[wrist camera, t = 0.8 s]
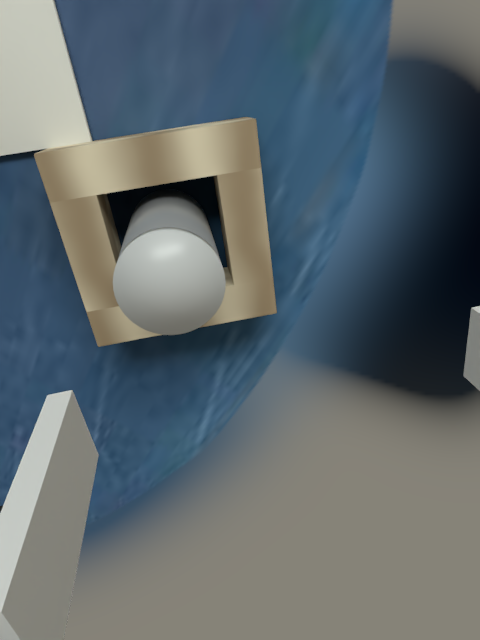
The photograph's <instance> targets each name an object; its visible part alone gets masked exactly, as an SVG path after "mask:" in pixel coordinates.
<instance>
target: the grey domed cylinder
mask: <svg viewBox="0 0 480 640" xmlns="http://www.w3.org/2000/svg"><path fill="white" fill-rule="evenodd" d="M225 286H226V281H225V274H224V270H223V266H222V263H221V260H220V257H219V254H218V251H217V248H216V245H215V242H214V239H213V236H212V233H211V230H210V226H209V223H208V220H207V217H206V215H205V212H204V210H203V208H202V207H201V205H200V204H199V203H198V202H197V201H196V200H195V199H194V198H193V197H192V196H190V195H188V194H187V193H184V192H182V191H179V190H174V189H161V190H157V191H154V192H152V193H150V194H148V195H146V196H145V197H144V198H143V199H142V200H141V201H140V202H139V203H138V204H137V205H136V207H135V209H134V211H133V214H132V216H131V220H130V223H129V226H128V229H127V232H126V235H125V238H124V241H123V245H122V248H121V251H120V254H119V257H118V260H117V263H116V266H115V270H114V274H113V290H114V295H115V298H116V301H117V303H118V305H119V307H120V309H121V310H122V312H123V313H124V314H125V315H126V316H127V317H128V319H129V320H131V321H132V322H133V323H134V324H136V325H137V326H139V327H141V328H143V329H145V330H147V331H150V332H153V333H157V334H163V335H177V334H183V333H187V332H190V331H193V330H195V329H197V328H199V327H201V326H202V325H204V324H205V323H206V322H208V321H209V320H210V319H211V318H212V317H213V316H214V315H215V313H216V312H217V310H218V309H219V307H220V305H221V303H222V301H223V298H224V294H225Z"/></svg>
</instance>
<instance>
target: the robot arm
mask: <svg viewBox="0 0 480 640" xmlns="http://www.w3.org/2000/svg"><path fill="white" fill-rule="evenodd" d="M464 377H465V378H466V379H467V380H469V381H470V382H471V383H472V384H473V385H474V386H475V387H476V388H477V389H478V390H479V391H480V306H478V307H473V308H471V316H470V325H469V333H468V342H467V350H466V359H465V367H464ZM97 460H98V453H97V450H96V448H95V445H94V443H93V440H92V438H91V435H90V433H89V430H88V428H87V425H86V423H85V420H84V418H83V415H82V413H81V410H80V408H79V405H78V403H77V400H76V398H75V395H74V393H73V390H70V391H65V392H61V393H56V394H51V395H47V398H46V400H45V403H44V405H43V408H42V410H41V413H40V415H39V418H38V420H37V423H36V425H35V428H34V430H33V433H32V435H31V438H30V440H29V443H28V445H27V448H26V450H25V453H24V455H23V458H22V460H21V463H20V465H19V468H18V470H17V473H16V475H15V478H14V480H13V483H12V485H11V488H10V490H9V493H8V495H7V498H6V500H5V503H4V505H3V506H0V640H64V635H65V630H66V625H67V619H68V614H69V609H70V604H71V598H72V593H73V588H74V582H75V576H76V572H77V566H78V561H79V556H80V550H81V545H82V540H83V535H84V529H85V524H86V519H87V513H88V508H89V503H90V497H91V492H92V487H93V481H94V476H95V471H96V466H97Z"/></svg>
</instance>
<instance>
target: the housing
mask: <svg viewBox="0 0 480 640" xmlns="http://www.w3.org/2000/svg"><path fill="white" fill-rule="evenodd" d="M34 157H35V160H36V163H37V166H38V169H39V172H40V175H41V178H42V181H43V184H44V187H45V190H46V193H47V196H48V199H49V201H50V204H51V207H52V210H53V213H54V216H55V219H56V222H57V225H58V228H59V231H60V234H61V237H62V240H63V243H64V246H65V249H66V252H67V255H68V258H69V261H70V264H71V267H72V270H73V273H74V276H75V279H76V282H77V285H78V288H79V291H80V294H81V297H82V300H83V303H84V306H85V309H86V312H87V315H88V318H89V321H90V324H91V327H92V330H93V333H94V336H95V339H96V342H97V345H98V347H100V346H105V345H110V344H116V343H121V342H126V341H132V340H137V339H142V338H148V337H153V336H158V335H163V334H157V333H153V332H150V331H147V330H145V329H143V328H141V327H139V326H137V325H136V324H134V323H133V322H132V321H131V320H129V319H128V317H127V316H126V315H125V314H124V313H123V312H122V310H121V309H120V307H119V305H118V303H117V301H116V298H115V295H114V290H113V274H114V270H115V266H116V263H117V260H118V257H119V254H120V251H121V244H120V240H119V237H118V233H117V229H116V226H115V222H114V218H113V215H112V211H111V207H110V203H109V200H108V196H107V193H112V192H118V191H124V190H130V189H136V188H142V187H148V186H154V185H160V184H167V183H173V182H179V181H185V180H191V179H197V178H203V177H209V176H213V178H214V184H215V190H216V197H217V203H218V209H219V216H220V222H221V229H222V235H223V241H224V248H225V254H226V260H227V267H225V268H223V270H224V274H225V281H226V286H225V294H224V298H223V301H222V303H221V305H220V307H219V309H218V310H217V312H216V313H215V315H214V316H213V317H212V318H211V319H210V320H209V321H208V322H206V323H205V324H204V325H202V326H201V327H206V326H211V325H216V324H222V323H227V322H232V321H238V320H243V319H248V318H253V317H259V316H264V315H269V314H275V313H277V311H276V301H275V292H274V283H273V273H272V264H271V255H270V245H269V236H268V227H267V217H266V208H265V199H264V189H263V180H262V171H261V161H260V152H259V143H258V133H257V124H256V119H254V118H249V117H242V118H236V119H230V120H223V121H217V122H211V123H204V124H198V125H191V126H185V127H179V128H172V129H166V130H160V131H153V132H147V133H140V134H134V135H128V136H121V137H115V138H109V139H102V140H96V141H92V142H85V143H79V144H73V145H66V146H60V147H53V148H48V149H45V150H43V151H40V152H37V153H35V154H34ZM199 328H200V327H199Z"/></svg>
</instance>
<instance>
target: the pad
mask: <svg viewBox="0 0 480 640" xmlns="http://www.w3.org/2000/svg"><path fill="white" fill-rule="evenodd" d="M85 142H92V137H91V134H90V130H89V126H88V123H87V119H86V115H85V112H84V108H83V104H82V101H81V97H80V93H79V90H78V86H77V82H76V79H75V75H74V71H73V68H72V64H71V60H70V57H69V53H68V49H67V46H66V42H65V38H64V35H63V31H62V27H61V23H60V20H59V16H58V12H57V9H56V5H55V1H54V0H0V156H3V155H9V154H15V153H22V152H28V151H34V150H41V149H47V148H53V147H60V146H66V145H73V144H79V143H85Z"/></svg>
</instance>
